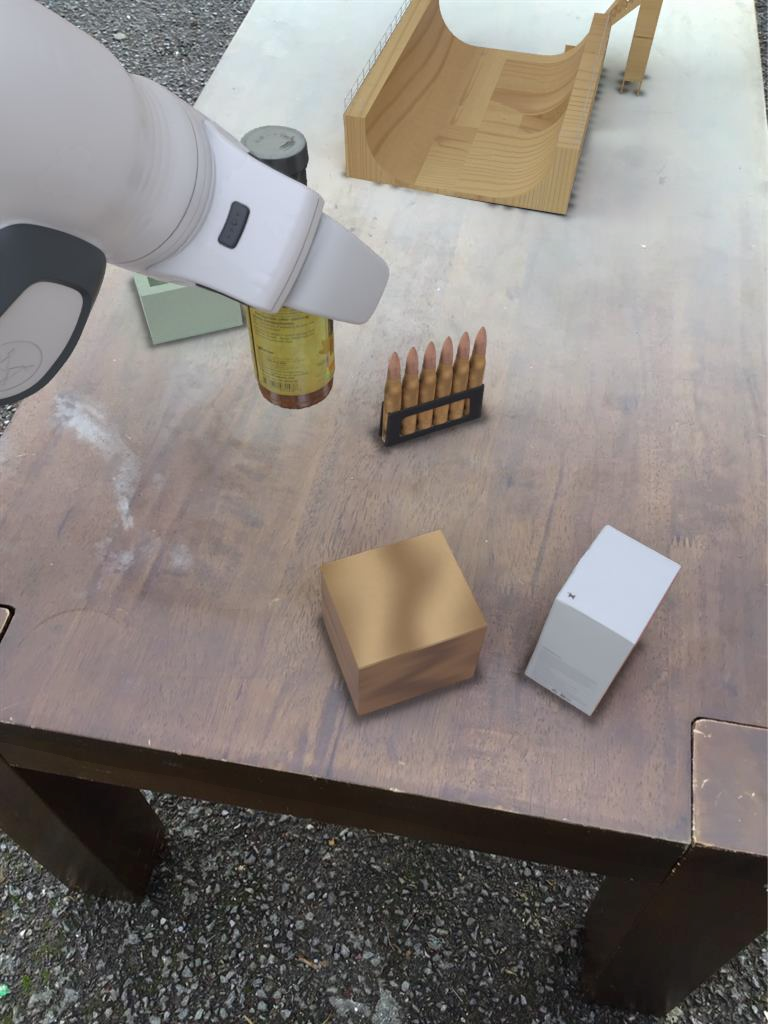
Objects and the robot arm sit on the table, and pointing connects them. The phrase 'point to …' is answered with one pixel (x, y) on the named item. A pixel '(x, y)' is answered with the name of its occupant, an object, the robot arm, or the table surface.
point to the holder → (184, 310)
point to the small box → (600, 618)
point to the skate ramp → (482, 110)
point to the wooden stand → (401, 621)
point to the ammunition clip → (433, 390)
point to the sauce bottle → (289, 333)
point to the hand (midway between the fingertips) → (291, 256)
